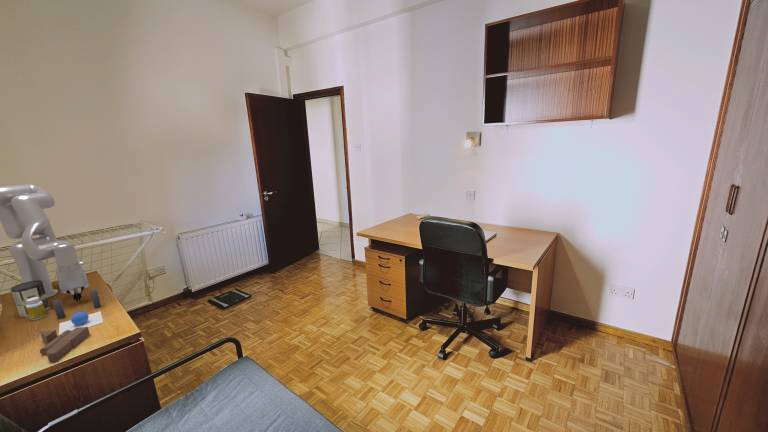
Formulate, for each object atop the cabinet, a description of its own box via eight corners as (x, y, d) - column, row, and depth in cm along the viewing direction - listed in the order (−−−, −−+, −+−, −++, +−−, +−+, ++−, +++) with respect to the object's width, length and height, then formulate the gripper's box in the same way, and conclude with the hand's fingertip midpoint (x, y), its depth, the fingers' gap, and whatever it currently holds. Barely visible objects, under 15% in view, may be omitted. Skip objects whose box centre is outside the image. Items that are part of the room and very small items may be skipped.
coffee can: (39, 304, 156) (31, 279, 153) (56, 306, 154) (48, 280, 151) (13, 315, 146) (3, 289, 143) (29, 317, 144) (20, 290, 141)
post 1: (57, 317, 144) (52, 300, 142) (65, 315, 146) (60, 298, 144) (57, 319, 142) (52, 302, 140) (65, 317, 144) (60, 300, 142)
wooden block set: (89, 322, 130) (54, 350, 113) (92, 334, 131) (58, 363, 114) (41, 328, 127) (-2, 357, 110) (45, 340, 128) (3, 370, 111)
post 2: (94, 307, 153) (89, 290, 151) (101, 305, 155) (96, 288, 152) (94, 308, 151) (89, 292, 149) (101, 306, 153) (97, 290, 151)
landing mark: (59, 323, 139) (59, 323, 139) (100, 311, 148) (100, 311, 148) (59, 336, 129) (59, 336, 129) (103, 322, 139) (103, 322, 139)
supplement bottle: (35, 321, 141) (29, 302, 139) (26, 320, 142) (20, 301, 140) (49, 314, 147) (44, 296, 144) (41, 313, 148) (35, 295, 145)
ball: (72, 328, 134) (73, 325, 138) (89, 322, 138) (89, 320, 142) (69, 316, 134) (69, 314, 138) (86, 310, 138) (86, 309, 142)
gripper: (89, 260, 160) (97, 292, 165) (47, 269, 150) (57, 303, 154) (89, 264, 155) (98, 297, 160) (46, 273, 145) (57, 308, 149)
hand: (78, 300), depth 157 cm, fingers closed
